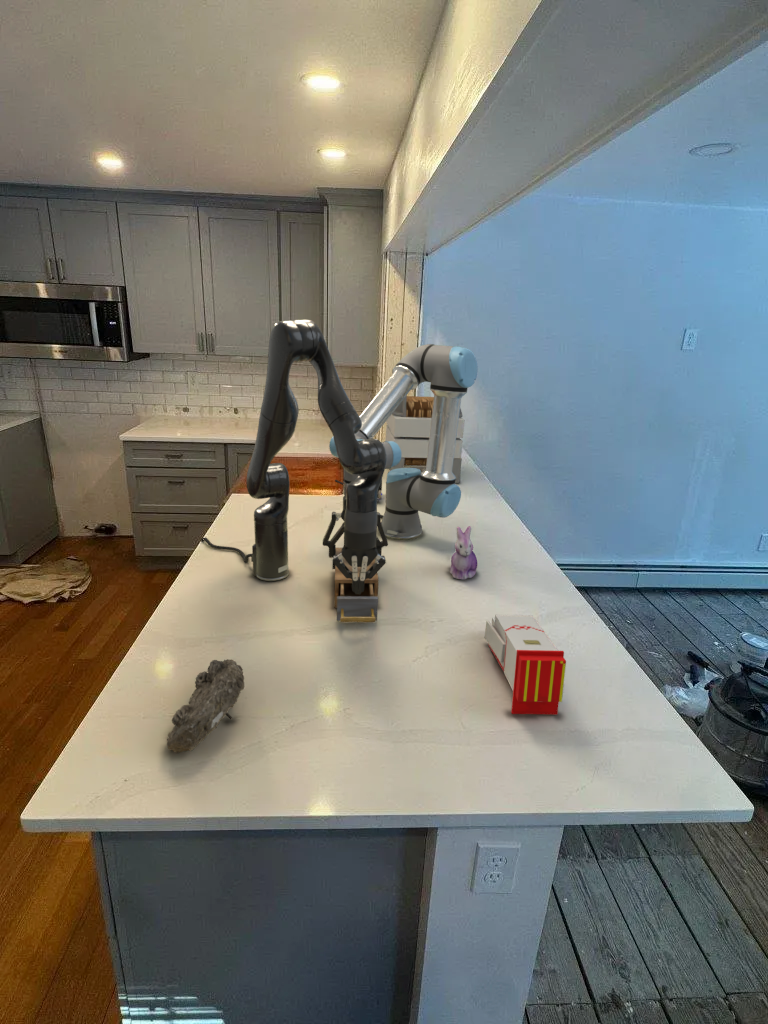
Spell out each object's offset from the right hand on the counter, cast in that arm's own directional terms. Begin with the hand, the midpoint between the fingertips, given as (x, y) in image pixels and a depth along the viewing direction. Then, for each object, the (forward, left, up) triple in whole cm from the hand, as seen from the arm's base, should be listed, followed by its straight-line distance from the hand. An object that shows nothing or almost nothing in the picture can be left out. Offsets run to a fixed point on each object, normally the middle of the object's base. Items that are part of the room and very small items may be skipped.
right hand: (354, 567), depth 165 cm
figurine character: (-53, +52, -4) cm, 74 cm away
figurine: (+17, +29, -4) cm, 33 cm away
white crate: (-71, +95, -4) cm, 119 cm away
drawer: (+15, -11, -3) cm, 19 cm away
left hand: (+23, -17, +7) cm, 29 cm away
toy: (+58, +1, -4) cm, 58 cm away
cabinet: (+6, -4, -4) cm, 8 cm away
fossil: (+31, -58, -4) cm, 66 cm away
